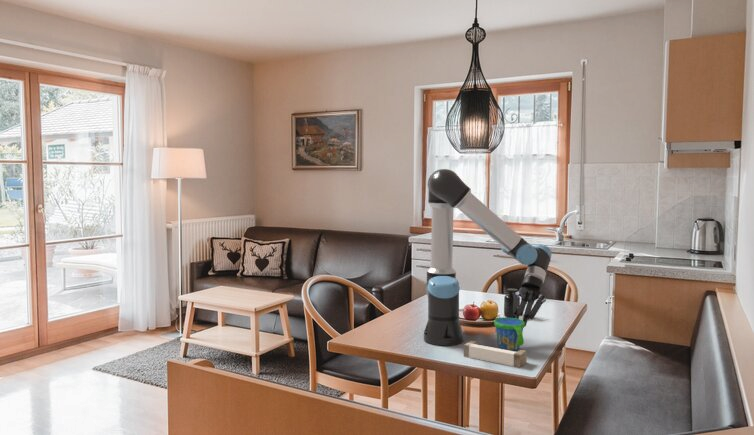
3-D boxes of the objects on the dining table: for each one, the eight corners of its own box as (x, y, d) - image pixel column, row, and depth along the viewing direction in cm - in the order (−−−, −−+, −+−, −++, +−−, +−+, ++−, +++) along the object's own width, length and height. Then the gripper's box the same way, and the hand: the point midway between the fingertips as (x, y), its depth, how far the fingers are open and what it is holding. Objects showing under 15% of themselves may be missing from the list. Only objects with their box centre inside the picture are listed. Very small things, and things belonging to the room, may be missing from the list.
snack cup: (532, 354, 191) (533, 326, 190) (504, 356, 189) (504, 327, 188) (513, 341, 206) (514, 314, 205) (487, 343, 204) (487, 316, 203)
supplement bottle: (520, 318, 239) (520, 291, 238) (504, 317, 241) (504, 290, 240) (519, 314, 246) (519, 288, 245) (503, 313, 247) (503, 287, 246)
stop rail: (463, 356, 190) (463, 344, 189) (471, 351, 195) (471, 340, 194) (519, 367, 178) (519, 355, 178) (526, 362, 183) (526, 350, 183)
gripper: (552, 287, 212) (537, 341, 200) (519, 284, 220) (503, 335, 207) (548, 276, 207) (532, 330, 195) (515, 273, 215) (498, 324, 203)
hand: (517, 332), depth 201 cm, fingers closed
